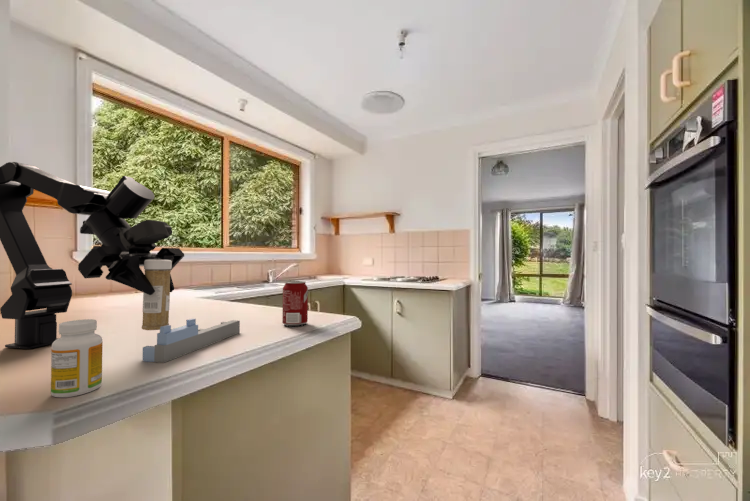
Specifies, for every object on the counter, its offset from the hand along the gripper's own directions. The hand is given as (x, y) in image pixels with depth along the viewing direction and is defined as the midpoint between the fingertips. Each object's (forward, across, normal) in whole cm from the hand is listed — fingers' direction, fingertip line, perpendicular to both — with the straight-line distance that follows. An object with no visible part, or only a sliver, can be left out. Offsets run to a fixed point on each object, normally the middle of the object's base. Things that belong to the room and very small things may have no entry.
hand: (162, 292), depth 64 cm
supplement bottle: (+10, -17, +7) cm, 21 cm away
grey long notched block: (+10, +7, +7) cm, 14 cm away
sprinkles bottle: (+4, 0, +6) cm, 7 cm away
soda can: (+19, +30, -2) cm, 35 cm away
